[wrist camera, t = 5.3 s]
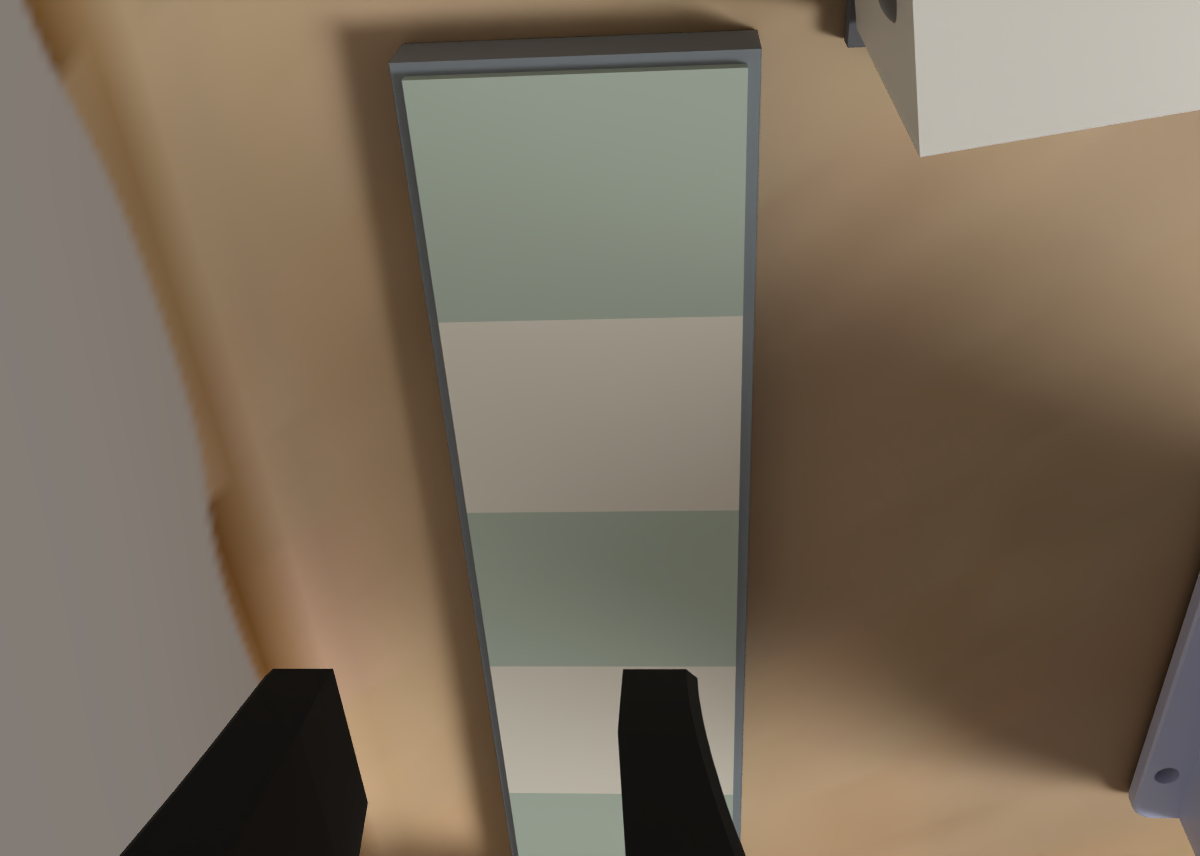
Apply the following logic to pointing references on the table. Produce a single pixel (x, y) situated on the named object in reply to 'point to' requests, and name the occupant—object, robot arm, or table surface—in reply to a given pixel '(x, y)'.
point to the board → (592, 385)
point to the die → (1030, 65)
